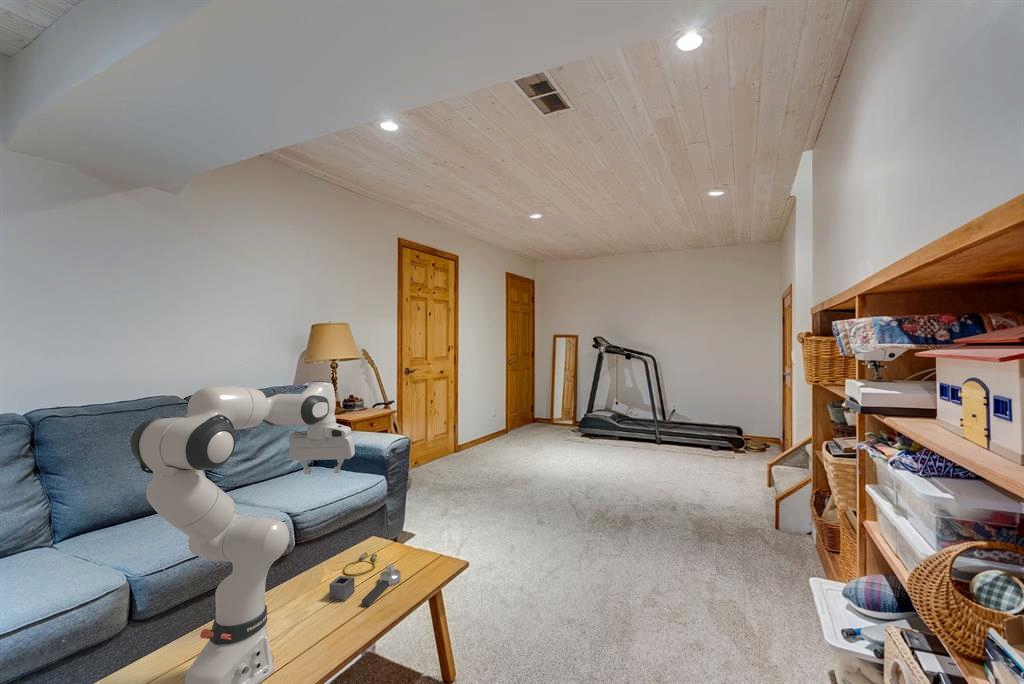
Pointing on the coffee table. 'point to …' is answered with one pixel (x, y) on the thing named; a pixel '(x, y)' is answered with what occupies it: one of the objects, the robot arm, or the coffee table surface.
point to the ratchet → (382, 584)
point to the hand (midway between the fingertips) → (322, 473)
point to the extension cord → (362, 561)
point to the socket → (341, 588)
